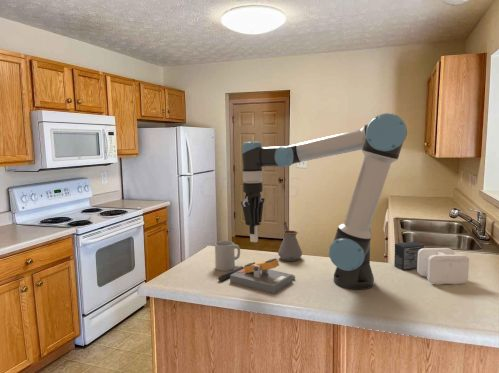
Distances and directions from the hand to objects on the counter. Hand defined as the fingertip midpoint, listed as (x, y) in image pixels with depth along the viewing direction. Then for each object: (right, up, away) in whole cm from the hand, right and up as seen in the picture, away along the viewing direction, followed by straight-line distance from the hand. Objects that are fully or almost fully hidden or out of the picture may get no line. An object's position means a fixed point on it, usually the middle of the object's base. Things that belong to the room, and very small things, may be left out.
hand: (254, 241), depth 143 cm
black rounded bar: (-9, -15, +7) cm, 19 cm away
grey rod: (+9, -15, +7) cm, 19 cm away
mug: (-11, -14, +18) cm, 26 cm away
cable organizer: (+74, -16, 0) cm, 75 cm away
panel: (+3, -16, 0) cm, 16 cm away
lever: (+3, -11, -1) cm, 11 cm away
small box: (+68, -14, +15) cm, 71 cm away
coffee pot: (+17, -12, +34) cm, 40 cm away
